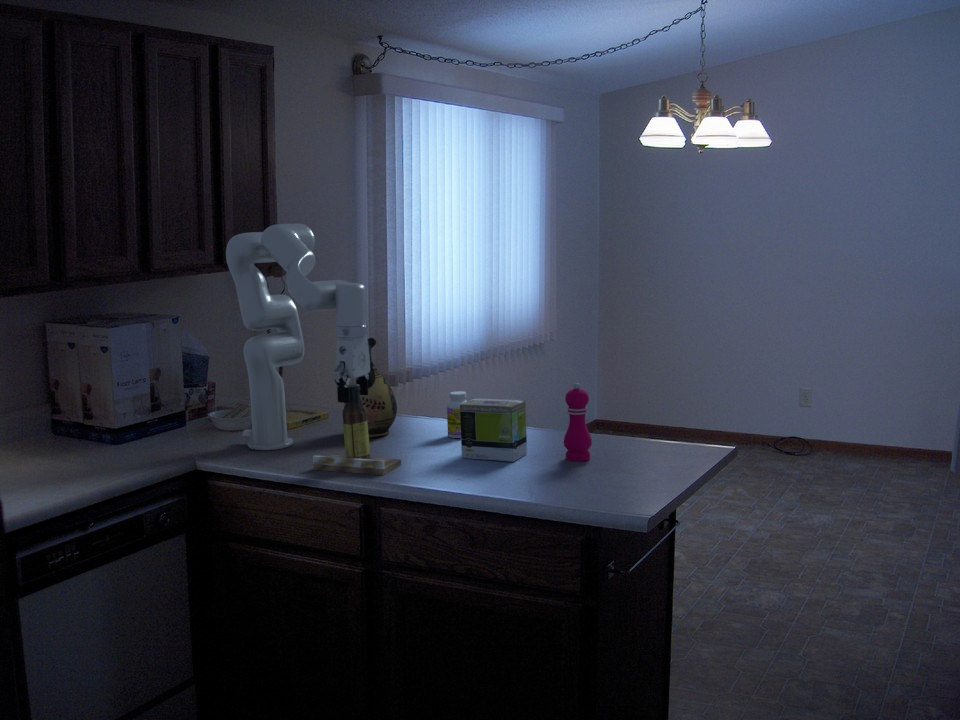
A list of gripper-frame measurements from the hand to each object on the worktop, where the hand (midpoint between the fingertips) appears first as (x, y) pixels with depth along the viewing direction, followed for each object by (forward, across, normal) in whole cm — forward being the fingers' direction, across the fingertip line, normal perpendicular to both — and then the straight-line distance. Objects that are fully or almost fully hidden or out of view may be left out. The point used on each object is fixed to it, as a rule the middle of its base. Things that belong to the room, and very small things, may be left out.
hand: (353, 398), depth 256 cm
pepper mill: (+17, +22, -53) cm, 60 cm away
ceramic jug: (+19, +33, +13) cm, 40 cm away
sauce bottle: (+16, 0, -1) cm, 17 cm away
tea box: (+17, +19, -31) cm, 41 cm away
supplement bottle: (+18, +38, -13) cm, 44 cm away
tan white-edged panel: (+18, -1, -1) cm, 18 cm away
